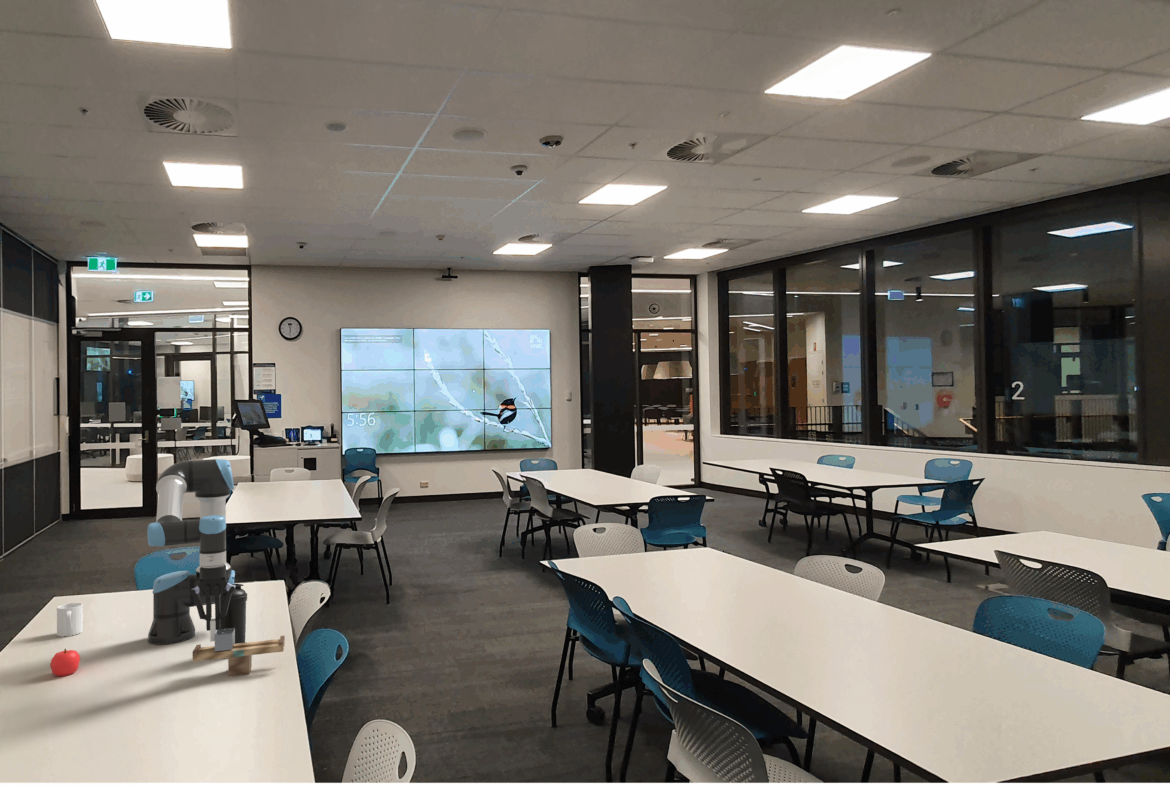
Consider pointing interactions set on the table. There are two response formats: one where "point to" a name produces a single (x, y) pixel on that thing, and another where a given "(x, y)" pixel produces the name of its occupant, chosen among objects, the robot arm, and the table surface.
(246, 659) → the beam
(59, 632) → the mug
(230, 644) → the block
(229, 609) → the water bottle
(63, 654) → the apple
